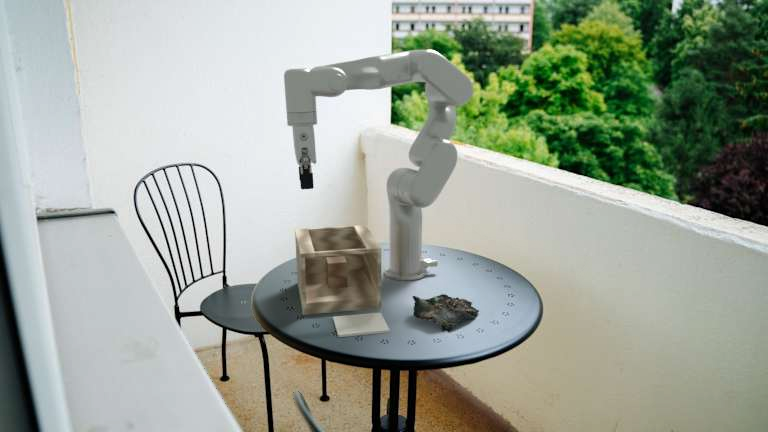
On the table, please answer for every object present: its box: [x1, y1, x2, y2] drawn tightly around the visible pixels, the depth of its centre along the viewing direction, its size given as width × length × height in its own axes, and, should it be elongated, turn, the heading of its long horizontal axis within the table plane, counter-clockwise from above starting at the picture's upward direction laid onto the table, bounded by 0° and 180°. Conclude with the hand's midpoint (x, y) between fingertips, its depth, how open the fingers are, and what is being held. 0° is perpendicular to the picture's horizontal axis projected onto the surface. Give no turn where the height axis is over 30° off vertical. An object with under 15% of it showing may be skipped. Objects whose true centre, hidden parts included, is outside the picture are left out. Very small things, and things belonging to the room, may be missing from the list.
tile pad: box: [332, 312, 390, 338], centre depth 139 cm, size 12×10×1 cm
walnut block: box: [326, 256, 348, 289], centre depth 155 cm, size 5×5×7 cm
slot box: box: [294, 224, 383, 316], centre depth 155 cm, size 20×22×16 cm
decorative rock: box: [412, 293, 480, 333], centre depth 144 cm, size 19×6×15 cm
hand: (306, 184), depth 151 cm, fingers open, 9 cm apart
